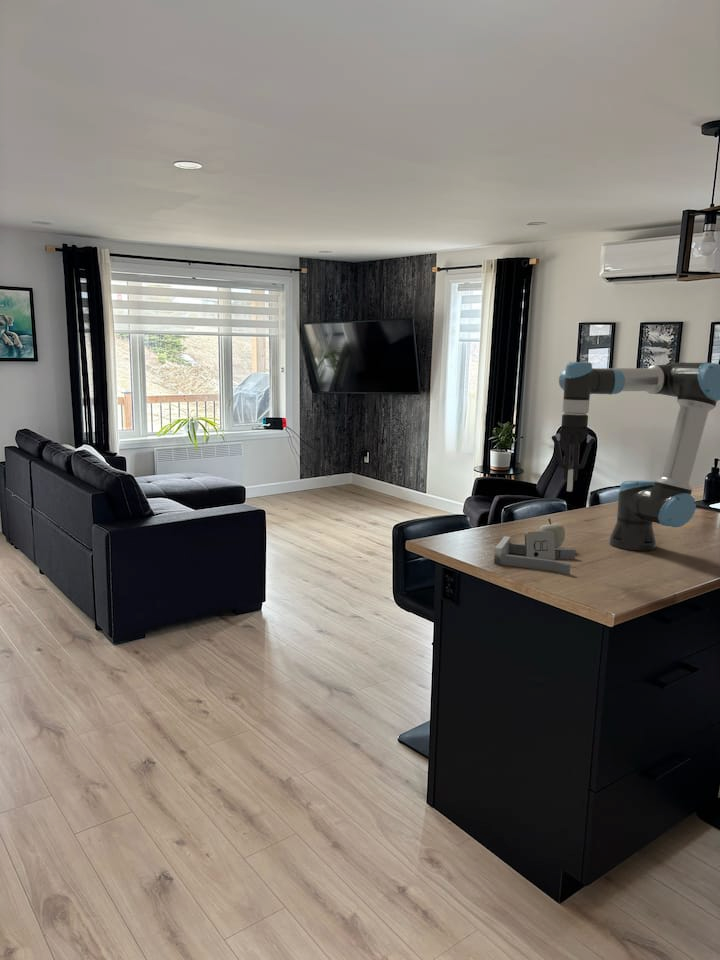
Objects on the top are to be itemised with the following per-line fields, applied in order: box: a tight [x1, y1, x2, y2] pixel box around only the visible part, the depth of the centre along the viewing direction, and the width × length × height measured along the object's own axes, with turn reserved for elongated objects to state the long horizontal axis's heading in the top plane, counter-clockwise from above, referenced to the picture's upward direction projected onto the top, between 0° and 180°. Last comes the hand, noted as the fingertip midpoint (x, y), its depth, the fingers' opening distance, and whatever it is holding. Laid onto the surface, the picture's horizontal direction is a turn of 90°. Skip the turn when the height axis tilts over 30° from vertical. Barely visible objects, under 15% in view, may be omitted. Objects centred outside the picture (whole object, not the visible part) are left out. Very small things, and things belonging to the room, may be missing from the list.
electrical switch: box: [524, 530, 556, 560], centre depth 227 cm, size 9×5×9 cm, turn 101°
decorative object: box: [538, 518, 566, 548], centre depth 240 cm, size 9×9×10 cm
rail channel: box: [493, 535, 577, 576], centre depth 223 cm, size 23×21×5 cm
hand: (569, 490), depth 217 cm, fingers closed
